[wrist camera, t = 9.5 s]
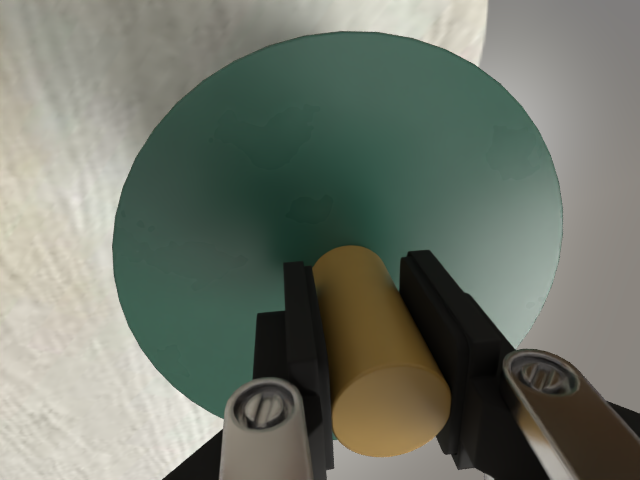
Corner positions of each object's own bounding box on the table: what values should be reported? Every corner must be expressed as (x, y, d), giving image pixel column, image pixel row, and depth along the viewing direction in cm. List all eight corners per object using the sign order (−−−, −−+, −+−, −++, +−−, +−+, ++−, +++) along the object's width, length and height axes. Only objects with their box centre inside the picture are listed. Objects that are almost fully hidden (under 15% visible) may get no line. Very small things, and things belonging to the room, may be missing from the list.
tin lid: (67, 47, 10) (-195, 34, 5) (578, 21, 11) (897, -17, 6) (172, 434, 16) (114, 651, 10) (510, 394, 17) (634, 571, 11)
